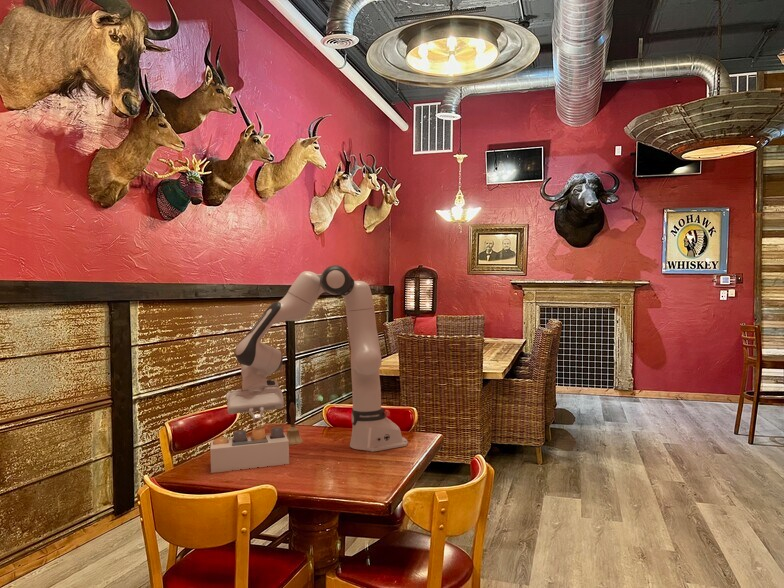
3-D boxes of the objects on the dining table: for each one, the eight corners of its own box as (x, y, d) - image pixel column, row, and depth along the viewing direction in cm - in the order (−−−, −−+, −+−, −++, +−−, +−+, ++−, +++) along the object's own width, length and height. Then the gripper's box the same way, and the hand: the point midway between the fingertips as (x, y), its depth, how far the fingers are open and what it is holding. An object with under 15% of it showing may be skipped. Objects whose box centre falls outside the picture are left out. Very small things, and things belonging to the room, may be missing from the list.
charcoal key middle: (246, 447, 195) (245, 429, 195) (246, 451, 191) (246, 432, 191) (233, 449, 194) (233, 430, 194) (233, 452, 190) (233, 433, 190)
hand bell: (307, 441, 219) (306, 401, 219) (293, 446, 212) (292, 405, 212) (292, 438, 223) (291, 399, 223) (278, 443, 216) (277, 403, 216)
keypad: (285, 454, 201) (285, 431, 201) (289, 464, 189) (288, 439, 189) (212, 462, 193) (211, 439, 193) (211, 473, 182) (210, 448, 182)
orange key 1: (227, 455, 193) (227, 437, 193) (227, 458, 189) (227, 440, 189) (214, 456, 192) (214, 438, 192) (214, 460, 188) (213, 441, 188)
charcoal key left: (283, 443, 199) (282, 426, 199) (284, 447, 195) (283, 429, 195) (270, 445, 198) (270, 427, 198) (271, 448, 193) (271, 430, 193)
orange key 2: (264, 445, 197) (264, 427, 197) (265, 449, 193) (265, 430, 193) (252, 447, 196) (251, 429, 196) (253, 450, 191) (252, 432, 191)
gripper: (225, 386, 198) (226, 418, 189) (282, 380, 204) (286, 411, 195) (225, 396, 202) (227, 428, 193) (281, 390, 208) (285, 421, 199)
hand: (257, 420), depth 194 cm, fingers closed
